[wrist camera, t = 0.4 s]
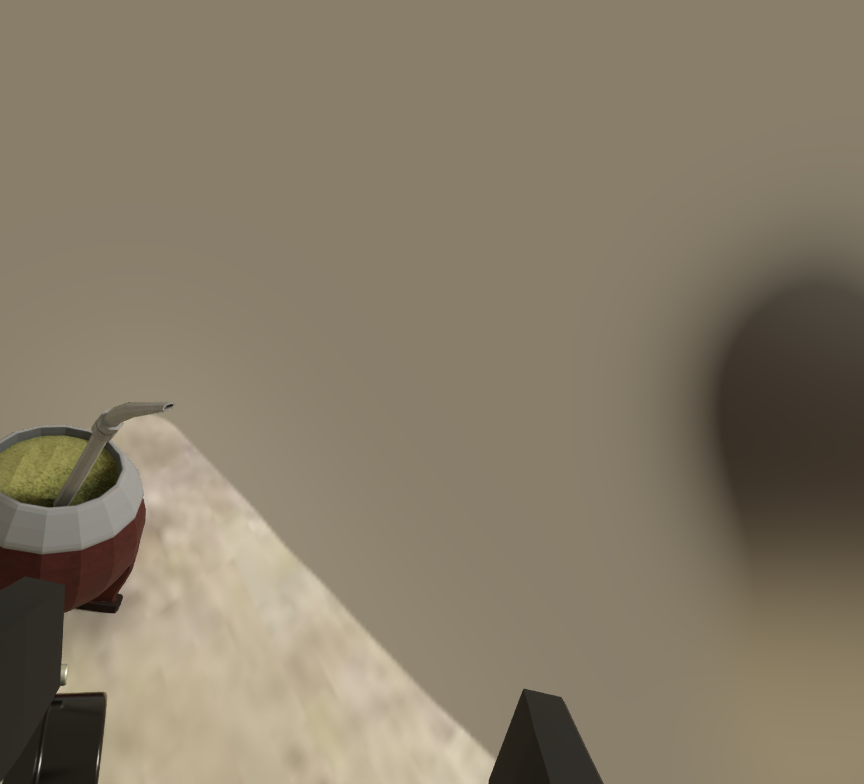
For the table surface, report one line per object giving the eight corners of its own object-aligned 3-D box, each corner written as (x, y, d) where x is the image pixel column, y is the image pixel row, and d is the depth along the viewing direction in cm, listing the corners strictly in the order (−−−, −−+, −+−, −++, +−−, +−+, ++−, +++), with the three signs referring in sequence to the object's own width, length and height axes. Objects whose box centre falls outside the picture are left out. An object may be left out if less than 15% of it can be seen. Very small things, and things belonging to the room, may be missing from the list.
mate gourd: (-3, 526, 34) (2, 246, 27) (165, 555, 36) (215, 301, 29) (-85, 661, 28) (-109, 346, 20) (123, 687, 30) (173, 408, 22)
